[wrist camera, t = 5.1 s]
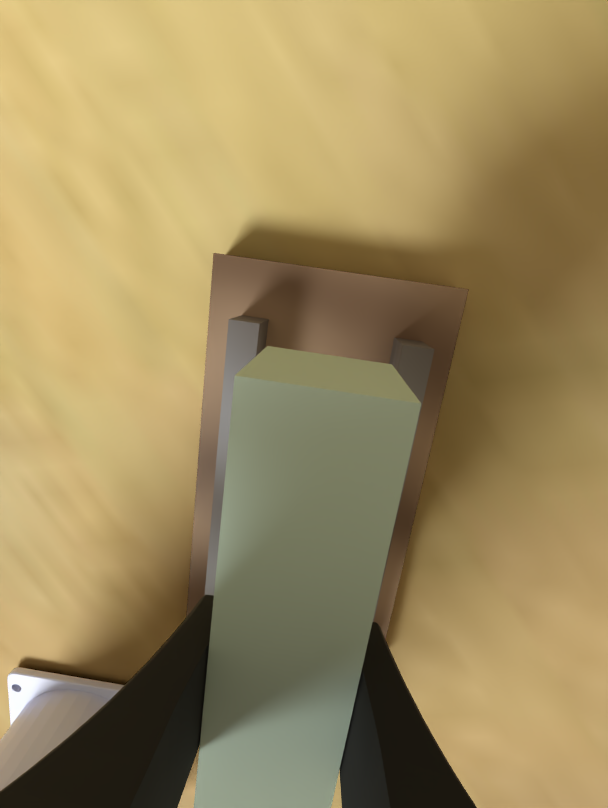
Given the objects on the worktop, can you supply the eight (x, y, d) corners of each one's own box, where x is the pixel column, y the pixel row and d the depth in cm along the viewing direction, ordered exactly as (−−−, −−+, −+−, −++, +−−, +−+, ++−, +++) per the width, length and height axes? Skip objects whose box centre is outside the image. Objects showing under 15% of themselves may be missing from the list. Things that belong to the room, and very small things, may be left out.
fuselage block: (309, 780, 14) (301, 938, 11) (219, 764, 14) (183, 916, 11) (391, 364, 10) (420, 404, 7) (267, 346, 10) (234, 375, 7)
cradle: (371, 660, 21) (378, 731, 18) (193, 630, 21) (167, 695, 18) (456, 289, 16) (488, 289, 13) (224, 256, 16) (195, 248, 13)
